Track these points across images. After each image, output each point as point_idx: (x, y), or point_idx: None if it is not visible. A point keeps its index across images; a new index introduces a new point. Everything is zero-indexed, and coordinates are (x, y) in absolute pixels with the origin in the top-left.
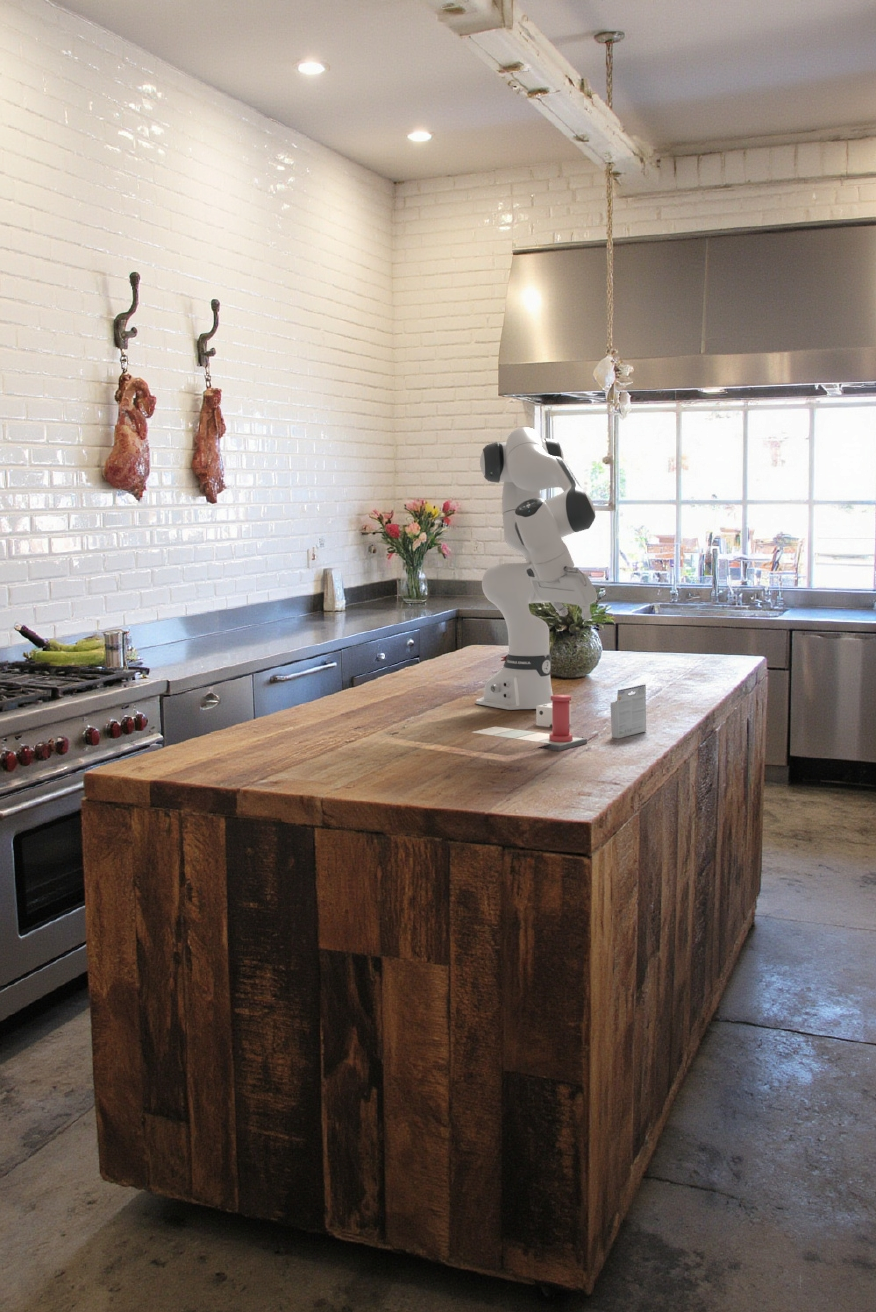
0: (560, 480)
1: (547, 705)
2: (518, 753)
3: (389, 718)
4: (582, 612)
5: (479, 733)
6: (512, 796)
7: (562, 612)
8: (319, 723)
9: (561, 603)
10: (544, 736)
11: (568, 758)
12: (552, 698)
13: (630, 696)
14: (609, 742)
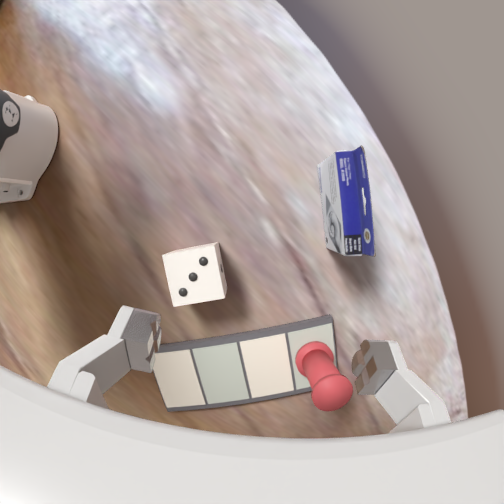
0: None
1: (183, 285)
2: (305, 424)
3: (8, 367)
4: (384, 404)
5: (182, 406)
6: None
7: (154, 355)
8: None
9: (102, 356)
10: (272, 358)
11: (373, 395)
12: (327, 409)
13: (362, 207)
14: (350, 281)
